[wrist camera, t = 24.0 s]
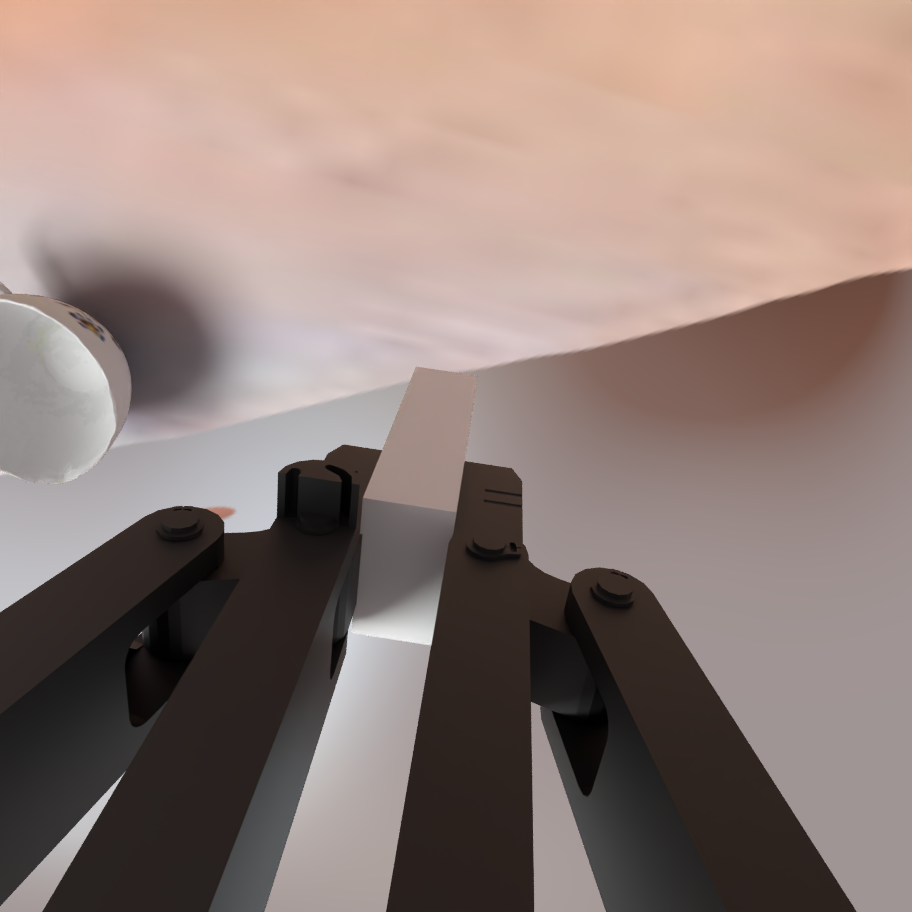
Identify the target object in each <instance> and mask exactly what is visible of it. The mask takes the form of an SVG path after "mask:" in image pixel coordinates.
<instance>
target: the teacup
mask: <svg viewBox="0 0 912 912" xmlns="http://www.w3.org/2000/svg"><path fill="white" fill-rule="evenodd" d="M130 403H131V375H130V370H129V367H128V364H127V361H126V358H125V356H124V353H123V351H122V349H121V348H120V346H119V344H118V343H117V342H116V340H115V339H114V337H113V336H112V335H111V334H110V332H109V331H108V330H107V329H106V328H105V327H104V326H103V325H101V324H100V323H99V322H98V321H96V320H95V319H94V318H93V317H91V316H90V315H88V314H86V313H85V312H83V311H81V310H80V309H78V308H76V307H74V306H71V305H69V304H67V303H64V302H61V301H58V300H55V299H51V298H47V297H43V296H37V295H28V294H12V293H11V291H10V290H9V289H7V288H6V287H5V286H4V284H2V283H1V282H0V471H2V472H4V473H6V474H9V475H12V476H15V477H17V478H20V479H22V480H23V481H26V482H33V483H35V482H45V483H48V484H50V483H64V482H67V481H71V480H73V479H75V478H78V477H79V476H81V475H82V474H84V473H86V472H87V471H89V470H91V469H92V468H93V467H94V466H96V465H97V464H98V463H99V462H100V461H101V459H102V458H103V457H104V455H105V454H106V452H107V451H108V450H109V448H110V447H111V445H112V444H113V442H114V441H115V439H116V438H117V436H118V435H119V433H120V431H121V429H122V427H123V425H124V423H125V420H126V417H127V414H128V411H129V407H130Z"/></svg>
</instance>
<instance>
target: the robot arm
mask: <svg viewBox="0 0 912 912" xmlns="http://www.w3.org/2000/svg"><path fill="white" fill-rule="evenodd" d="M477 378H478V376H474V375H468V374H461V373H455V372H448V371H441V370H435V369H428V368H421V367H416V368H415V371H414V373H413V376H412V378H411V381H410V383H409V386H408V388H407V391H406V393H405V396H404V398H403V400H402V403H401V405H400V408H399V411H398V413H397V415H396V418H395V420H394V423H393V425H392V427H391V430H390V432H389V435H388V437H387V440H386V442H385V445H384V447H383V450H376V449H369V448H362V447H356V446H349V445H342V446H340V447H339V448H337V449H335V450H333V451H332V452H330V453H328V455H327V456H326V458H325V460H323V461H322V460H308V461H299V462H296V463H293V464H290V465H288V466H285V467H284V468H283V469H282V470H281V471H279V472H278V498H277V499H278V501H277V502H278V503H277V518H276V519H275V521H274V523H273V524H272V526H271V528H270V529H267V530H263V531H257V532H247V533H224V522H223V520H222V519H221V518H220V517H219V515H218V514H215V513H213V512H211V511H209V510H207V509H203V508H197V507H192V506H184V507H182V506H176V507H172V508H167V509H162V510H158V511H156V512H154V513H152V514H149V515H147V516H145V517H144V518H142V519H141V520H139V521H138V522H136V523H135V524H133V525H131V526H130V527H129V528H127V529H125V530H124V531H122V532H121V533H119V534H118V535H116V536H115V537H113V538H112V539H110V540H109V541H107V542H106V543H104V544H103V545H101V546H100V547H98V548H97V549H95V550H94V551H92V552H91V553H89V554H88V555H86V556H85V557H83V558H82V559H80V560H79V561H77V562H76V563H74V564H73V565H71V566H70V567H68V568H67V569H65V570H64V571H62V572H61V573H59V574H57V575H56V576H55V577H53V578H51V579H50V580H49V581H47V582H45V583H44V584H42V585H41V586H39V587H38V588H36V589H35V590H33V591H32V592H30V593H29V594H27V595H26V596H24V597H23V598H21V599H20V600H18V601H17V602H15V603H14V604H12V605H11V606H9V607H8V608H6V609H5V610H3V611H2V612H0V906H1V905H2V904H3V902H4V901H5V900H6V899H7V898H8V897H9V896H10V895H11V894H12V893H13V891H15V890H16V888H17V887H18V886H19V885H20V884H21V883H22V882H23V881H24V880H25V879H26V878H27V877H28V875H29V874H30V873H31V872H32V871H33V870H34V869H35V868H36V867H37V866H38V865H39V864H40V863H41V862H42V861H43V859H44V858H45V857H46V856H47V855H48V854H49V853H50V852H51V851H52V850H53V849H54V847H56V845H57V844H58V843H59V842H60V841H61V840H62V839H63V838H64V837H65V836H66V835H67V834H68V833H69V831H70V830H71V829H72V828H73V827H74V826H75V825H76V824H77V823H78V822H79V821H80V820H81V819H82V817H83V816H84V815H85V814H86V813H87V812H88V811H89V810H90V809H91V808H92V806H93V805H94V804H96V802H97V801H98V800H99V799H100V798H101V797H102V796H103V795H104V794H105V793H106V792H107V791H108V790H109V788H110V787H111V786H112V785H113V784H114V783H115V782H116V781H117V780H118V779H119V778H120V777H121V776H122V775H123V773H124V772H125V771H126V772H125V774H124V775H123V777H122V779H121V780H120V782H119V784H118V785H117V787H116V789H115V790H114V792H113V794H112V796H111V797H110V799H109V800H108V802H107V804H106V805H105V807H104V809H103V811H102V812H101V814H100V816H99V817H98V819H97V821H96V822H95V824H94V826H93V828H92V829H91V831H90V832H89V834H88V836H87V837H86V839H85V841H84V843H83V844H82V846H81V848H80V850H79V851H78V853H77V854H76V856H75V858H74V860H73V861H72V863H71V865H70V866H69V868H68V869H67V871H66V873H65V875H64V876H63V878H62V880H61V881H60V883H59V885H58V886H57V888H56V890H55V892H54V893H53V895H52V896H51V898H50V900H49V902H48V903H47V905H46V907H45V908H44V910H43V911H42V912H264V911H265V908H266V904H267V901H268V898H269V895H270V892H271V888H272V886H273V882H274V879H275V876H276V873H277V870H278V866H279V863H280V860H281V857H282V854H283V850H284V848H285V844H286V841H287V838H288V835H289V832H290V828H291V825H292V822H293V819H294V816H295V813H296V809H297V806H298V803H299V800H300V797H301V794H302V791H303V788H304V784H305V781H306V778H307V775H308V772H309V769H310V765H311V762H312V759H313V756H314V753H315V750H316V746H317V743H318V740H319V737H320V734H321V731H322V727H323V724H324V721H325V718H326V715H327V712H328V708H329V705H330V702H331V699H332V696H333V693H334V690H335V686H336V683H337V680H338V677H339V674H340V671H341V667H342V664H343V661H344V658H345V655H346V647H347V635H348V628H349V625H350V622H351V619H352V616H353V621H352V633H355V634H361V635H368V636H375V637H381V638H387V639H393V640H400V641H406V642H413V643H419V644H426V645H431V650H430V656H429V662H428V668H427V674H426V680H425V686H424V692H423V697H422V703H421V709H420V715H419V721H418V727H417V733H416V739H415V745H414V751H413V757H412V762H411V769H410V774H409V780H408V786H407V792H406V798H405V804H404V810H403V815H402V821H401V827H400V833H399V839H398V845H397V851H396V857H395V863H394V869H393V875H392V881H391V887H390V892H389V898H388V904H387V910H386V912H534V869H533V810H532V809H533V808H532V751H531V749H532V747H531V702H533V703H536V704H538V705H540V706H541V707H540V710H541V719H542V723H543V726H544V729H545V731H546V735H547V738H548V741H549V743H550V746H551V749H552V752H553V755H554V758H555V761H556V764H557V767H558V770H559V773H560V776H561V779H562V782H563V785H564V788H565V791H566V794H567V797H568V800H569V803H570V806H571V809H572V812H573V815H574V818H575V821H576V824H577V826H578V830H579V833H580V835H581V838H582V842H583V845H584V848H585V850H586V854H587V856H588V859H589V862H590V865H591V868H592V871H593V874H594V877H595V880H596V883H597V886H598V889H599V892H600V895H601V898H602V901H603V904H604V907H605V910H606V912H856V910H855V909H854V907H853V905H852V904H851V902H850V901H849V899H848V898H847V896H846V894H845V893H844V892H843V890H842V888H841V887H840V885H839V884H838V882H837V880H836V879H835V877H834V876H833V874H832V873H831V871H830V869H829V868H828V866H827V865H826V863H825V862H824V860H823V858H822V857H821V855H820V854H819V852H818V851H817V849H816V848H815V846H814V844H813V843H812V841H811V840H810V838H809V837H808V835H807V833H806V832H805V830H804V829H803V827H802V826H801V824H800V823H799V821H798V819H797V818H796V816H795V815H794V813H793V812H792V810H791V808H790V807H789V805H788V804H787V802H786V801H785V799H784V797H783V796H782V794H781V793H780V791H779V790H778V788H777V787H776V785H775V783H774V782H773V780H772V779H771V777H770V776H769V774H768V773H767V771H766V769H765V768H764V766H763V765H762V763H761V762H760V760H759V759H758V757H757V755H756V754H755V752H754V751H753V749H752V747H751V746H750V744H749V743H748V741H747V740H746V738H745V737H744V735H743V733H742V732H741V730H740V729H739V727H738V726H737V724H736V722H735V721H734V719H733V718H732V716H731V715H730V713H729V712H728V710H727V708H726V707H725V705H724V704H723V702H722V701H721V699H720V697H719V696H718V694H717V693H716V691H715V690H714V688H713V687H712V685H711V683H710V682H709V680H708V679H707V677H706V676H705V674H704V672H703V671H702V669H701V668H700V666H699V665H698V663H697V661H696V660H695V659H694V657H693V655H692V654H691V652H690V651H689V649H688V647H687V646H686V645H685V643H684V641H683V640H682V638H681V637H680V635H679V633H678V632H677V630H676V629H675V627H674V625H673V624H672V622H671V621H670V619H669V618H668V616H667V615H666V613H665V611H664V610H663V608H662V607H661V605H660V604H659V602H658V600H657V599H656V597H655V596H654V594H653V593H652V592H651V591H650V590H649V589H648V587H647V586H646V585H645V584H644V583H642V582H641V581H639V580H638V579H636V578H634V577H632V576H631V575H629V574H626V573H624V572H620V571H618V570H614V569H606V568H591V569H585V570H583V571H581V572H579V573H577V574H575V576H574V578H573V580H572V582H571V583H569V582H566V581H563V580H560V579H558V578H555V577H553V576H551V575H548V574H546V573H544V572H543V571H541V570H540V569H538V568H536V567H535V566H534V565H533V564H532V563H531V562H530V561H529V560H528V559H529V558H528V552H527V550H526V547H525V545H524V544H523V535H522V534H523V533H522V532H523V531H522V481H521V479H520V478H519V477H518V476H517V474H516V473H515V472H514V470H513V469H512V468H506V467H499V466H493V465H486V464H479V463H473V462H466V461H465V457H466V450H467V444H468V437H469V430H470V424H471V417H472V411H473V404H474V397H475V391H476V385H477ZM141 632H142V633H141ZM140 633H141V634H140ZM139 634H140V635H139ZM138 635H139V636H138Z"/></svg>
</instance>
